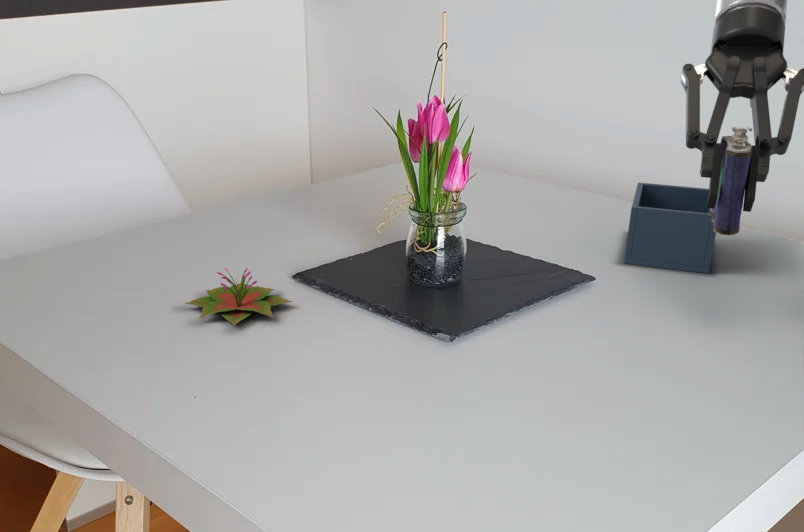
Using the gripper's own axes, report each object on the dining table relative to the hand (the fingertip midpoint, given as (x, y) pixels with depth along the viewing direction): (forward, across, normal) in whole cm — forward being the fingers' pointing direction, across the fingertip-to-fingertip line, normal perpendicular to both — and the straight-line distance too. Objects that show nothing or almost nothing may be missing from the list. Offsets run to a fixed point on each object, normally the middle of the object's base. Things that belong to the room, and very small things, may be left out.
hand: (730, 203), depth 88 cm
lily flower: (+20, -51, -1) cm, 55 cm away
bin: (-7, -5, +27) cm, 28 cm away
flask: (0, 0, +5) cm, 5 cm away
